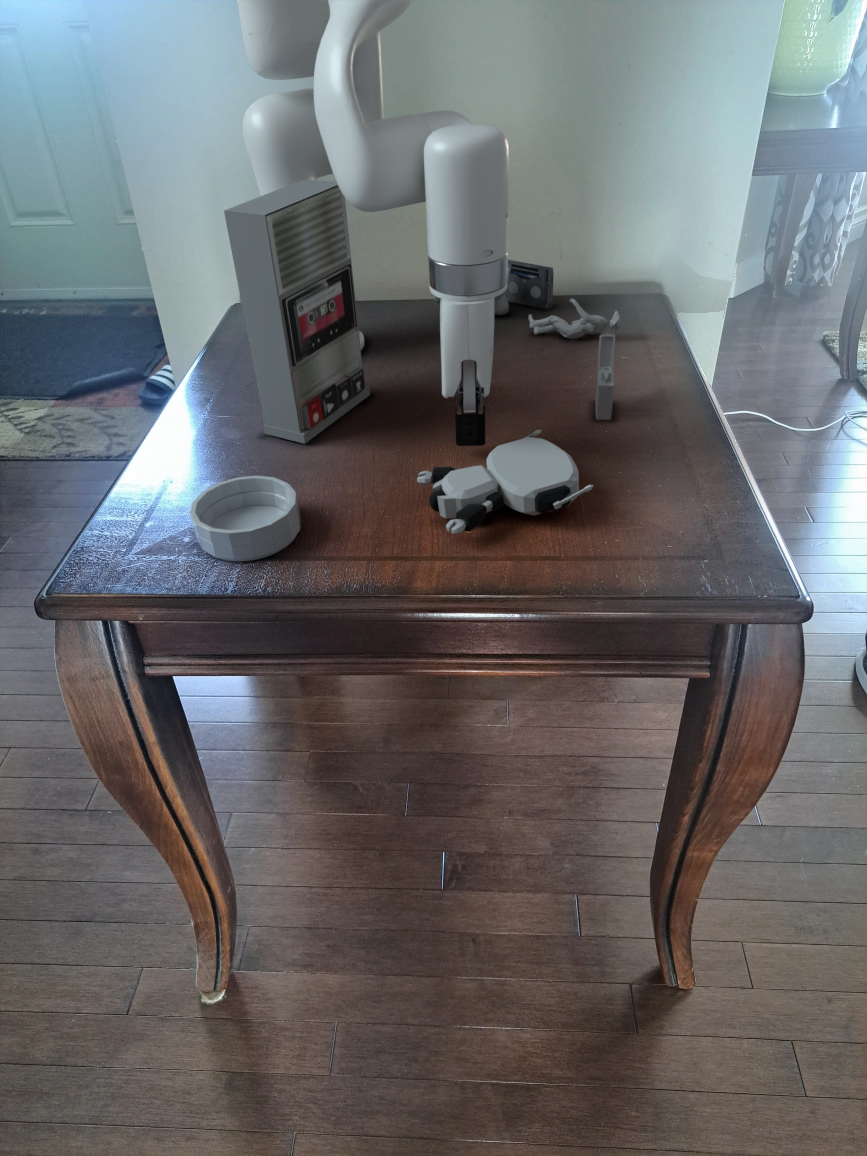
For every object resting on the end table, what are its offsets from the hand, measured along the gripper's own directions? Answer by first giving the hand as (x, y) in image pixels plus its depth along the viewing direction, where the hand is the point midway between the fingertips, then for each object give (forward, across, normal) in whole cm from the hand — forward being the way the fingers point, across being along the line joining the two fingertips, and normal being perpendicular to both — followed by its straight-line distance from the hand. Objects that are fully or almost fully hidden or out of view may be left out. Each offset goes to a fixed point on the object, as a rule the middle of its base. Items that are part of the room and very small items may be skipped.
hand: (470, 441), depth 91 cm
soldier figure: (+2, -32, +14) cm, 35 cm away
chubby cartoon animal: (+2, -43, 0) cm, 43 cm away
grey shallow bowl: (+2, +14, -22) cm, 26 cm away
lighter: (+2, -11, +16) cm, 19 cm away
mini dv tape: (+2, -46, +8) cm, 47 cm away
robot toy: (+2, +10, +3) cm, 11 cm away
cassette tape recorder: (+2, -10, -18) cm, 21 cm away
